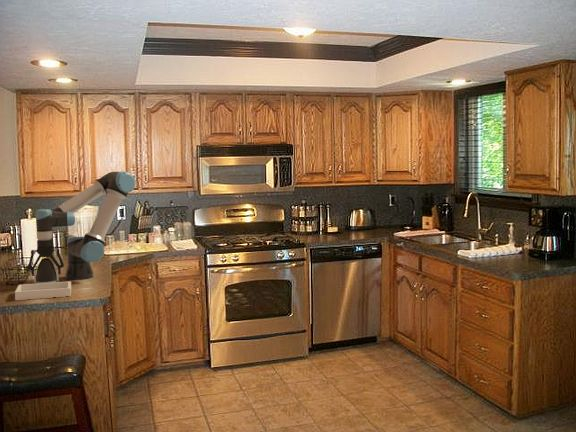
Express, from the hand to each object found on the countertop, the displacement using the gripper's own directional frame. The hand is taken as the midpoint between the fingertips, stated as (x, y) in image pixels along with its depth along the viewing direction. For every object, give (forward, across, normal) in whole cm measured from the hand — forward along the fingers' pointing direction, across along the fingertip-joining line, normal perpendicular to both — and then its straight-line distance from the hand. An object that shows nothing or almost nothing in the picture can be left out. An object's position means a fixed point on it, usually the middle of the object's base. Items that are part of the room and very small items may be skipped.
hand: (46, 281), depth 310 cm
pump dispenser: (+3, 0, 0) cm, 3 cm away
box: (+3, 0, +20) cm, 20 cm away
